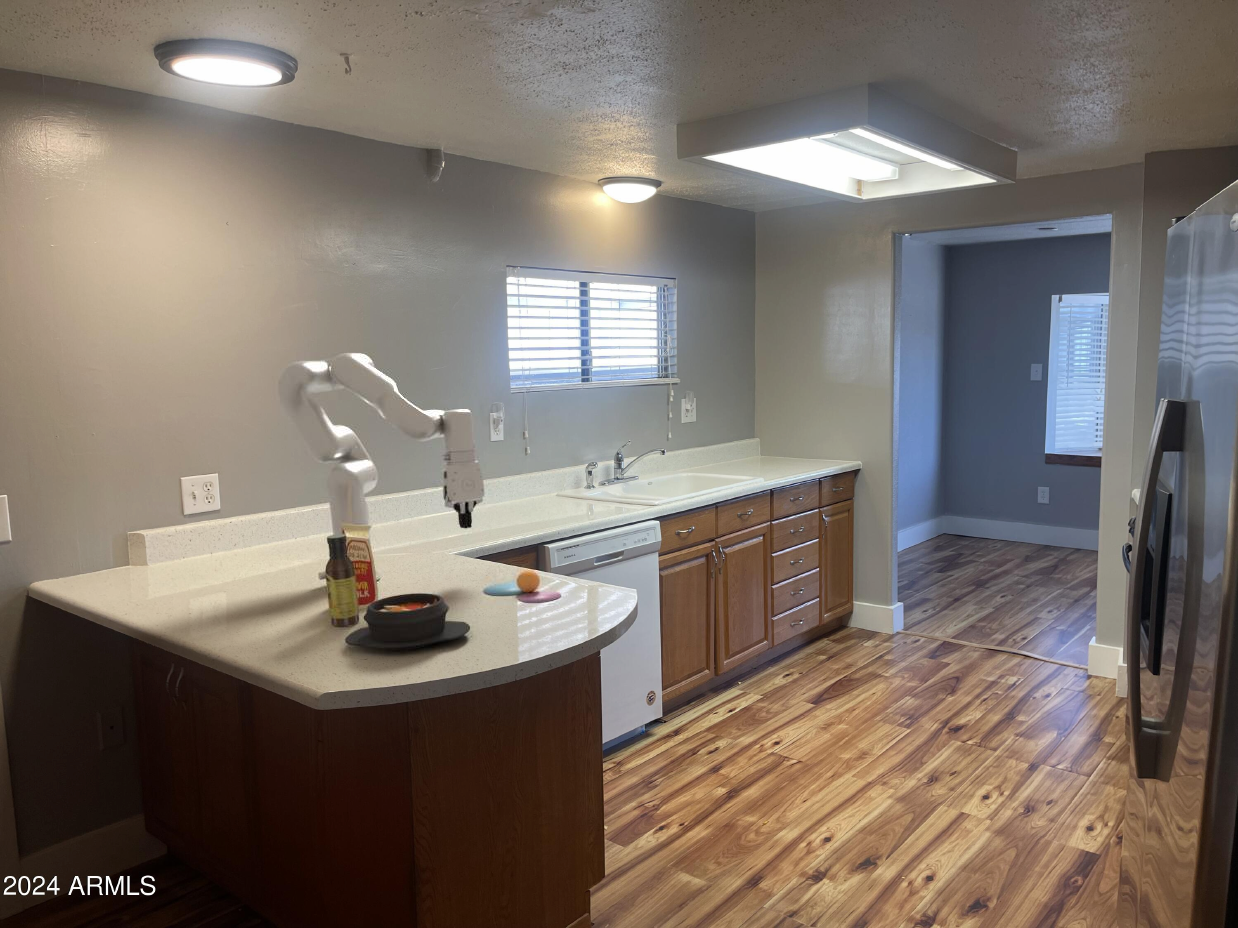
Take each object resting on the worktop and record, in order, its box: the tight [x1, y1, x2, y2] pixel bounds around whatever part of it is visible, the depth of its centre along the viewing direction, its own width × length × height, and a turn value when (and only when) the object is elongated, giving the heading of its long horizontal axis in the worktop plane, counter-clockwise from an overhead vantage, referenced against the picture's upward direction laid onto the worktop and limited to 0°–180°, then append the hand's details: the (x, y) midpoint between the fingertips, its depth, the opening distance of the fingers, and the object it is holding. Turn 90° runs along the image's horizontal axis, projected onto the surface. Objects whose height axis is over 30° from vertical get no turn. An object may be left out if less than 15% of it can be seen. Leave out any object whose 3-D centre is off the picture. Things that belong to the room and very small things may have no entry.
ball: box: [516, 569, 541, 593], centre depth 222 cm, size 6×6×6 cm
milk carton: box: [341, 523, 379, 609], centre depth 220 cm, size 9×9×20 cm
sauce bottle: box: [324, 534, 360, 628], centre depth 203 cm, size 6×6×20 cm
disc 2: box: [518, 590, 562, 604], centre depth 218 cm, size 10×10×1 cm
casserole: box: [344, 592, 471, 651], centre depth 187 cm, size 25×19×8 cm
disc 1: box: [483, 581, 527, 597], centre depth 227 cm, size 13×13×1 cm
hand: (465, 527), depth 240 cm, fingers closed
